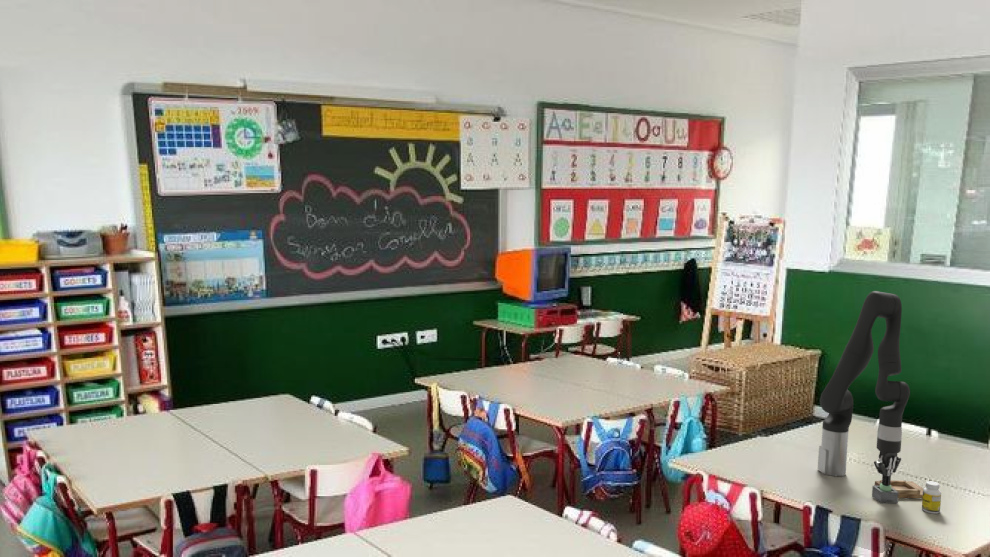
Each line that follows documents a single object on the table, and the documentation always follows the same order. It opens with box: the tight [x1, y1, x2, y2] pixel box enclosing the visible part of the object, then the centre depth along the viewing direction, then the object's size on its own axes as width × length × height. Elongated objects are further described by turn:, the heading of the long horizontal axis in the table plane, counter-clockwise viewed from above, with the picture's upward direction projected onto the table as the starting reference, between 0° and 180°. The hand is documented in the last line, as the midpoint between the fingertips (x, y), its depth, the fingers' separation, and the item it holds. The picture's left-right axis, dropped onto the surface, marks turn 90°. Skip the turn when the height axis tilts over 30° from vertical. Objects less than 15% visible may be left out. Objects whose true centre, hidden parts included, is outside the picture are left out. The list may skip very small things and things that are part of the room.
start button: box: [880, 483, 891, 491], centre depth 262 cm, size 4×4×3 cm
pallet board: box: [874, 479, 924, 498], centre depth 270 cm, size 14×13×3 cm
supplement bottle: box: [921, 480, 942, 515], centre depth 253 cm, size 5×5×10 cm
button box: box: [871, 485, 899, 504], centre depth 262 cm, size 6×6×4 cm
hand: (886, 485), depth 261 cm, fingers closed
